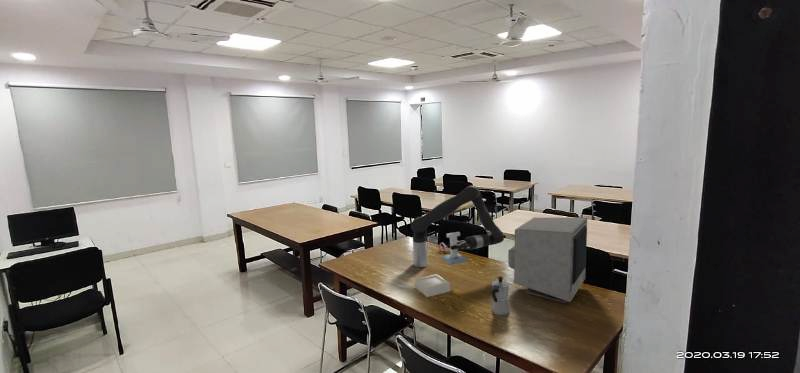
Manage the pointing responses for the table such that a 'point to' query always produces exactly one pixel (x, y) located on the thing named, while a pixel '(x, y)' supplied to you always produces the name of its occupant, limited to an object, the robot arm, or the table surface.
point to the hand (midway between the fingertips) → (449, 247)
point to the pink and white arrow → (444, 247)
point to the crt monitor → (550, 257)
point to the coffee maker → (500, 297)
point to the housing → (432, 285)
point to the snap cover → (453, 251)
